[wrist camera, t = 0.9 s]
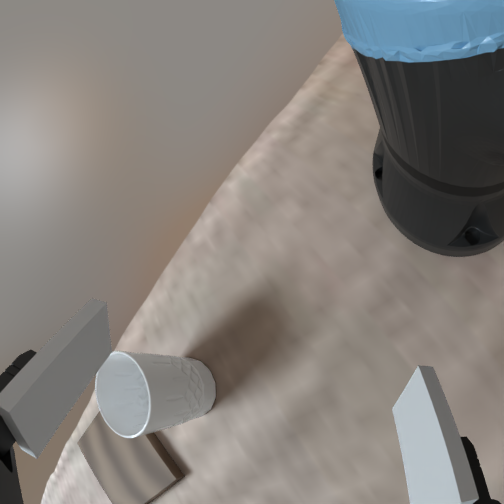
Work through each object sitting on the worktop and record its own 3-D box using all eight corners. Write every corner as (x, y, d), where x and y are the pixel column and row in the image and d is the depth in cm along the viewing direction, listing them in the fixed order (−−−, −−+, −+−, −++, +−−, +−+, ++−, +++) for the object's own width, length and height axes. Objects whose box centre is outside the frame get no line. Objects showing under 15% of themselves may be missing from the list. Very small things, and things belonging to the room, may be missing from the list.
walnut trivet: (125, 387, 37) (116, 387, 36) (184, 475, 30) (176, 479, 29) (84, 442, 40) (77, 442, 38) (130, 515, 32) (122, 518, 31)
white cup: (189, 433, 31) (119, 451, 23) (155, 378, 35) (86, 380, 27) (235, 397, 30) (165, 412, 22) (195, 338, 34) (123, 332, 26)
